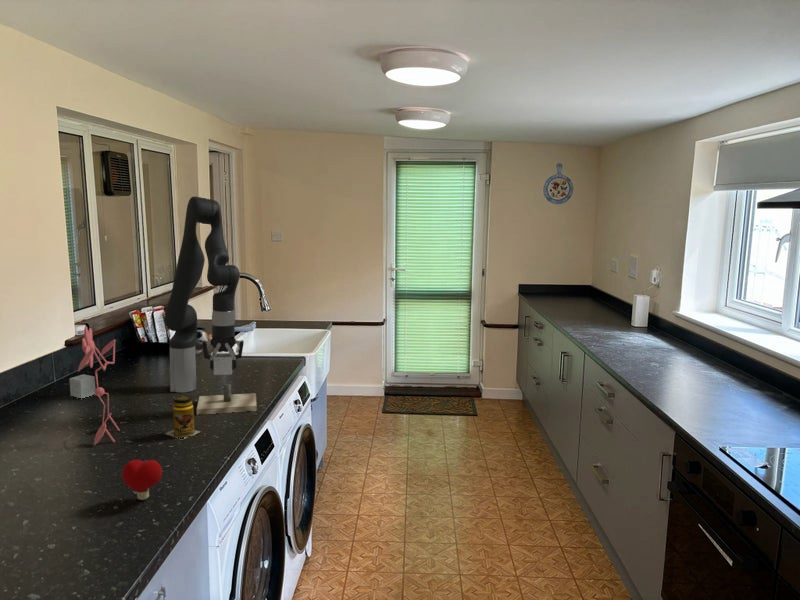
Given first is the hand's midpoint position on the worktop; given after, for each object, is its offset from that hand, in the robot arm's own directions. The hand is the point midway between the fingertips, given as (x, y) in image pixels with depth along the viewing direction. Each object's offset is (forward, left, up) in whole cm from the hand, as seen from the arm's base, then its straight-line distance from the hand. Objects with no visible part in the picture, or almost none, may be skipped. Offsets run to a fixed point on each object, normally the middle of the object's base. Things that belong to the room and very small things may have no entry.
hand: (223, 369), depth 200 cm
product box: (-51, +25, -15) cm, 59 cm away
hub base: (+1, +4, -15) cm, 16 cm away
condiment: (-12, -19, -15) cm, 27 cm away
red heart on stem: (-17, -61, -15) cm, 65 cm away
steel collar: (0, 0, -1) cm, 1 cm away
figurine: (-38, -18, -15) cm, 45 cm away
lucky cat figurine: (-17, +87, -15) cm, 90 cm away
